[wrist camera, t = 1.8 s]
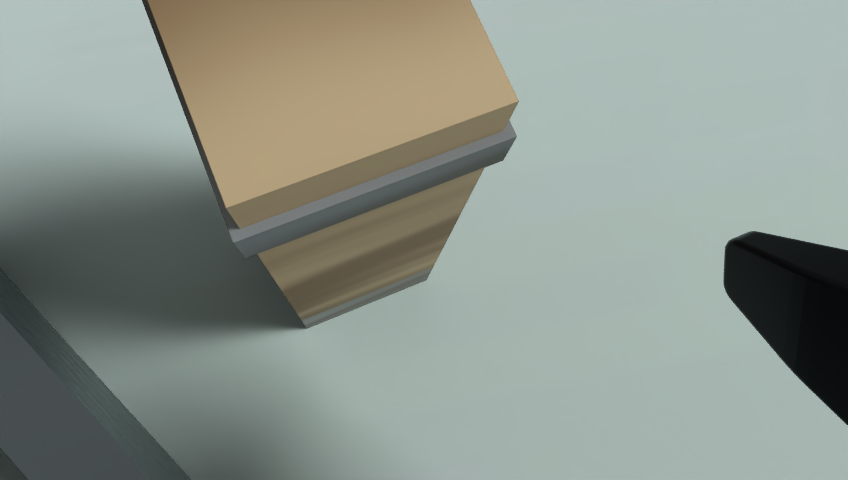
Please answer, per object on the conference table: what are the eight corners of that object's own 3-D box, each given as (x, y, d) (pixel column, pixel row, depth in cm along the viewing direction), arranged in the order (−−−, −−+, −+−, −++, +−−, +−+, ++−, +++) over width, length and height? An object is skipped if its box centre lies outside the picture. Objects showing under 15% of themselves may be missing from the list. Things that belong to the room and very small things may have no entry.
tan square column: (432, 282, 22) (533, 107, 9) (303, 334, 21) (218, 223, 8) (380, 163, 22) (408, -152, 10) (255, 209, 22) (109, -68, 9)
